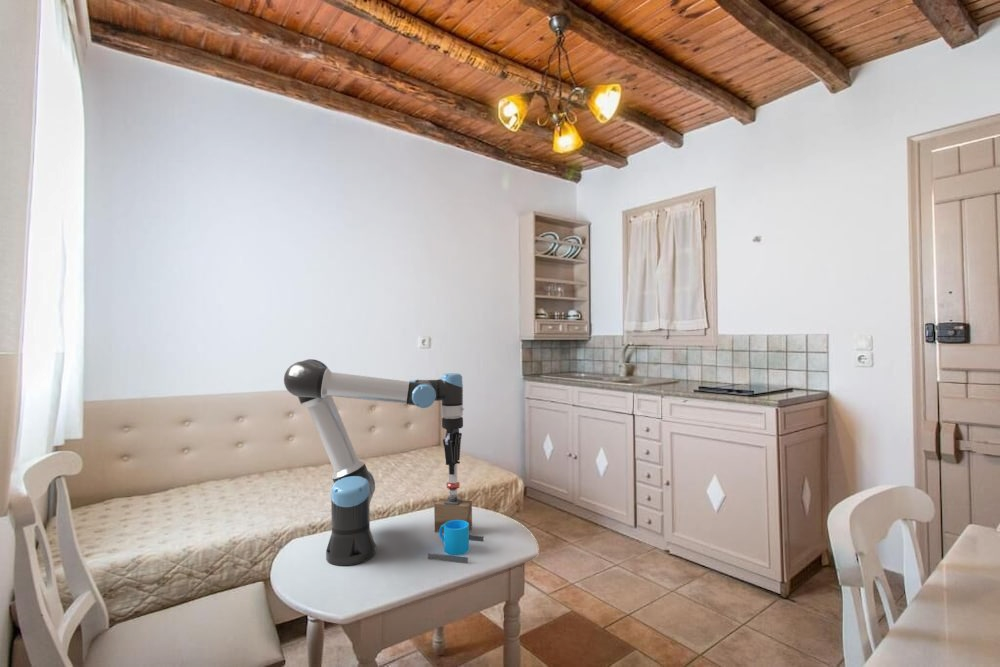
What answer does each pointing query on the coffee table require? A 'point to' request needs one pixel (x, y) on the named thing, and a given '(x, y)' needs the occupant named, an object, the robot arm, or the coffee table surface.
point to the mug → (455, 537)
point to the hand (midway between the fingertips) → (453, 482)
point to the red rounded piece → (453, 490)
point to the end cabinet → (452, 512)
